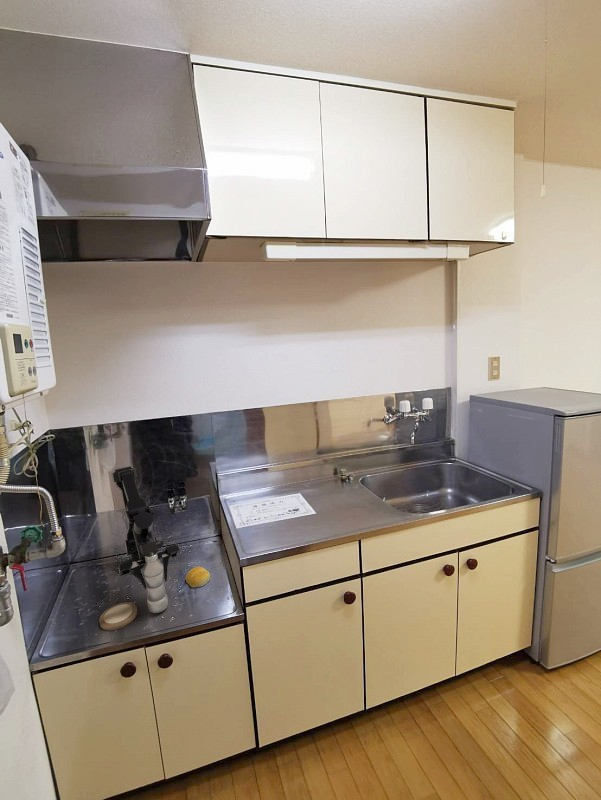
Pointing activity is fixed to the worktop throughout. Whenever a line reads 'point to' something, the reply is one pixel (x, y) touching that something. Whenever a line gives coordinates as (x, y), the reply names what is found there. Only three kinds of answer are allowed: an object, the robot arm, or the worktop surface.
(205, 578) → the bread roll
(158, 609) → the plastic bottle
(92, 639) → the worktop surface
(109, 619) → the tan round plate
